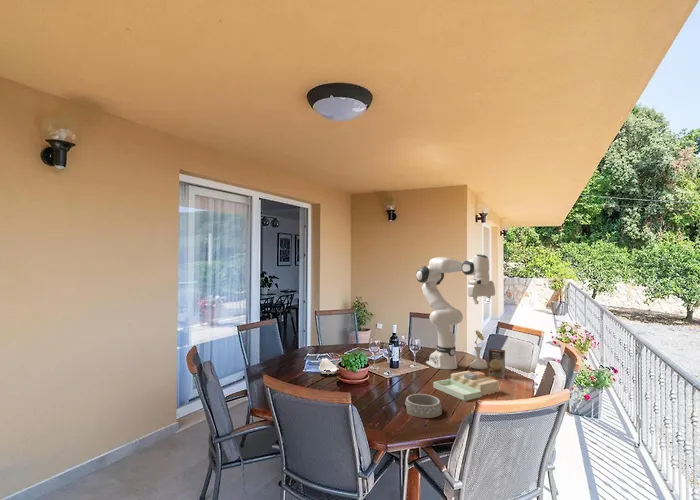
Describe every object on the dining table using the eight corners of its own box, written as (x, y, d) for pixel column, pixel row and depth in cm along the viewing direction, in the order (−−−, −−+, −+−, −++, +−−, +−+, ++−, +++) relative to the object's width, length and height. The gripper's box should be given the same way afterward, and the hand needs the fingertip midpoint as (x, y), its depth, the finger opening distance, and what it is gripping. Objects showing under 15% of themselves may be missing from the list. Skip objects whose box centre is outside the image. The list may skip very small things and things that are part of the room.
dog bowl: (435, 403, 189) (435, 392, 190) (446, 418, 171) (446, 406, 171) (402, 403, 189) (402, 392, 189) (409, 418, 171) (409, 406, 171)
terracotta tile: (471, 375, 215) (471, 372, 215) (477, 374, 217) (477, 371, 217) (478, 378, 210) (478, 374, 210) (484, 377, 213) (484, 373, 213)
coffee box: (488, 375, 235) (488, 350, 235) (490, 373, 240) (490, 348, 241) (503, 378, 230) (503, 351, 231) (505, 375, 236) (505, 349, 236)
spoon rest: (339, 376, 234) (339, 364, 234) (320, 377, 230) (320, 366, 231) (330, 366, 256) (330, 355, 257) (313, 367, 253) (313, 356, 253)
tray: (433, 387, 213) (433, 381, 213) (449, 383, 219) (449, 378, 219) (464, 401, 192) (464, 395, 192) (481, 396, 198) (481, 391, 198)
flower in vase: (488, 371, 245) (488, 332, 246) (470, 370, 247) (470, 332, 248) (485, 365, 258) (485, 329, 259) (468, 364, 260) (467, 328, 261)
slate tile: (464, 377, 211) (464, 374, 211) (469, 376, 214) (469, 372, 214) (471, 379, 207) (471, 376, 207) (477, 378, 210) (477, 374, 210)
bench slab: (450, 384, 218) (450, 374, 218) (468, 380, 225) (468, 370, 225) (480, 396, 199) (480, 384, 199) (498, 392, 205) (498, 380, 206)
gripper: (489, 280, 237) (489, 302, 237) (465, 281, 227) (466, 304, 227) (497, 280, 232) (497, 303, 231) (473, 281, 222) (474, 305, 221)
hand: (482, 303), depth 229 cm, fingers open, 8 cm apart
